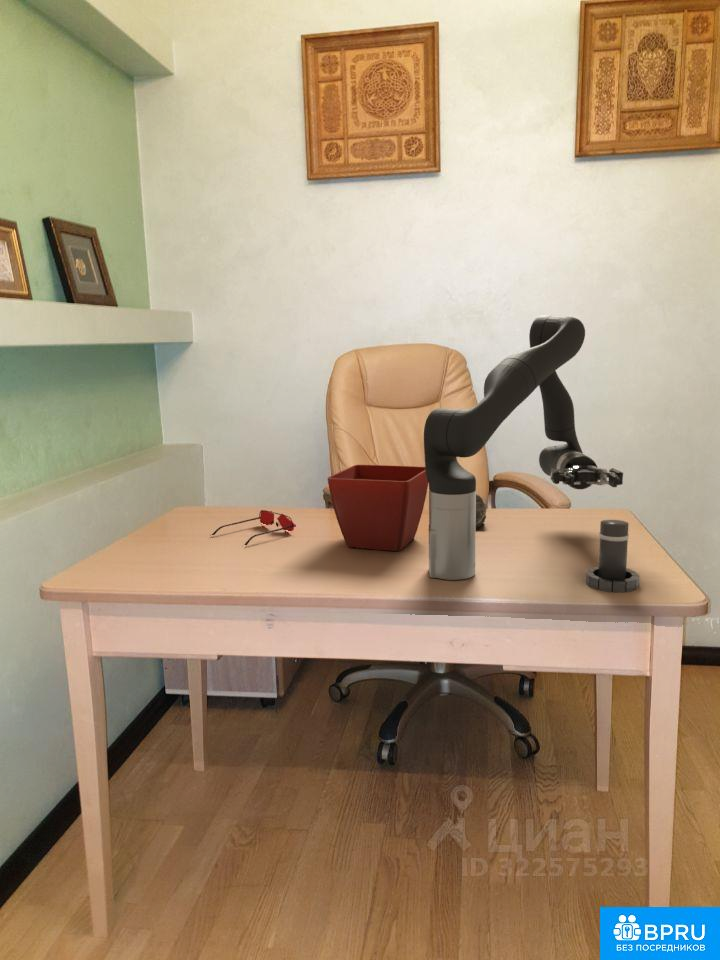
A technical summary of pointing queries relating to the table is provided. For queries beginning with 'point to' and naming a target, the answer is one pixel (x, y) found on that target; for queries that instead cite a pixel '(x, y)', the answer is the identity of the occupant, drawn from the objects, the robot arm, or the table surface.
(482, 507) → the fossil
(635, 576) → the block ring
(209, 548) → the table surface
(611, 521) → the dark grey canister
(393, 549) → the plant pot
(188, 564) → the table surface
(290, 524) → the glasses
